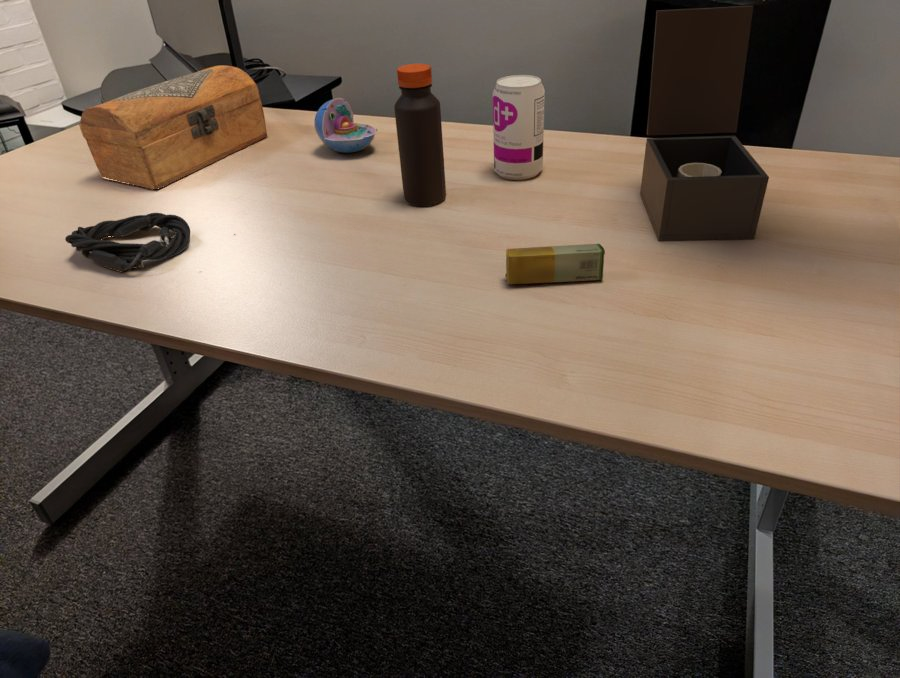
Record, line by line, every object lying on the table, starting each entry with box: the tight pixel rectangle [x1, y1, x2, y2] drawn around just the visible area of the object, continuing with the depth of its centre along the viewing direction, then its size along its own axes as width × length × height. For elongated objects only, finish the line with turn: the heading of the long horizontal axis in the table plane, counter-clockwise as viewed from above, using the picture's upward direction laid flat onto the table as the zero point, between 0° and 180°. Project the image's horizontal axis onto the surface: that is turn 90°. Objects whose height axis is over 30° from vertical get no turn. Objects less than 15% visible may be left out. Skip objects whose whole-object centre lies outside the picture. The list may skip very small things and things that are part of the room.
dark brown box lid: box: [646, 5, 754, 136], centre depth 92 cm, size 16×13×1 cm
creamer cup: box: [677, 163, 722, 177], centre depth 92 cm, size 6×6×6 cm
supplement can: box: [492, 74, 546, 181], centre depth 107 cm, size 8×8×15 cm
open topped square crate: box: [639, 135, 770, 242], centre depth 92 cm, size 16×13×9 cm
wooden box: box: [78, 64, 268, 190], centre depth 123 cm, size 30×16×14 cm, turn 150°
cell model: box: [313, 97, 378, 154], centre depth 122 cm, size 10×12×10 cm
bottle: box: [393, 63, 447, 207], centre depth 99 cm, size 7×7×20 cm
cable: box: [64, 212, 191, 272], centre depth 95 cm, size 17×14×4 cm
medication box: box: [504, 243, 606, 285], centre depth 81 cm, size 12×3×4 cm, turn 92°
